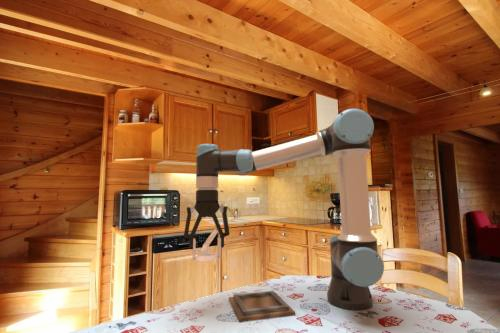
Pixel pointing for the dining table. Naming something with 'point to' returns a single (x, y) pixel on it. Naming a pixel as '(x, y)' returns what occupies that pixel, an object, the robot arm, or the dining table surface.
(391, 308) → the dining table surface
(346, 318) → the dining table surface
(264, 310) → the picture frame
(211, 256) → the hook
